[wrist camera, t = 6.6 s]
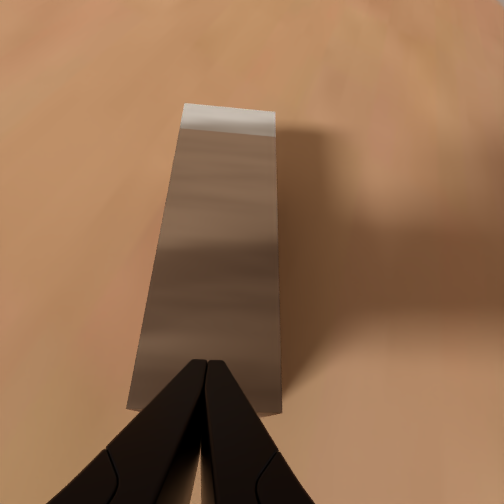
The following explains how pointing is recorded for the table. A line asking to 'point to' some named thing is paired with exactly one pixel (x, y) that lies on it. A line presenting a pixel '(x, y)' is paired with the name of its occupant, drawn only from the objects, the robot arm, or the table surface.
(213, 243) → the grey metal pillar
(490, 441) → the table surface
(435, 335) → the table surface
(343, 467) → the table surface
